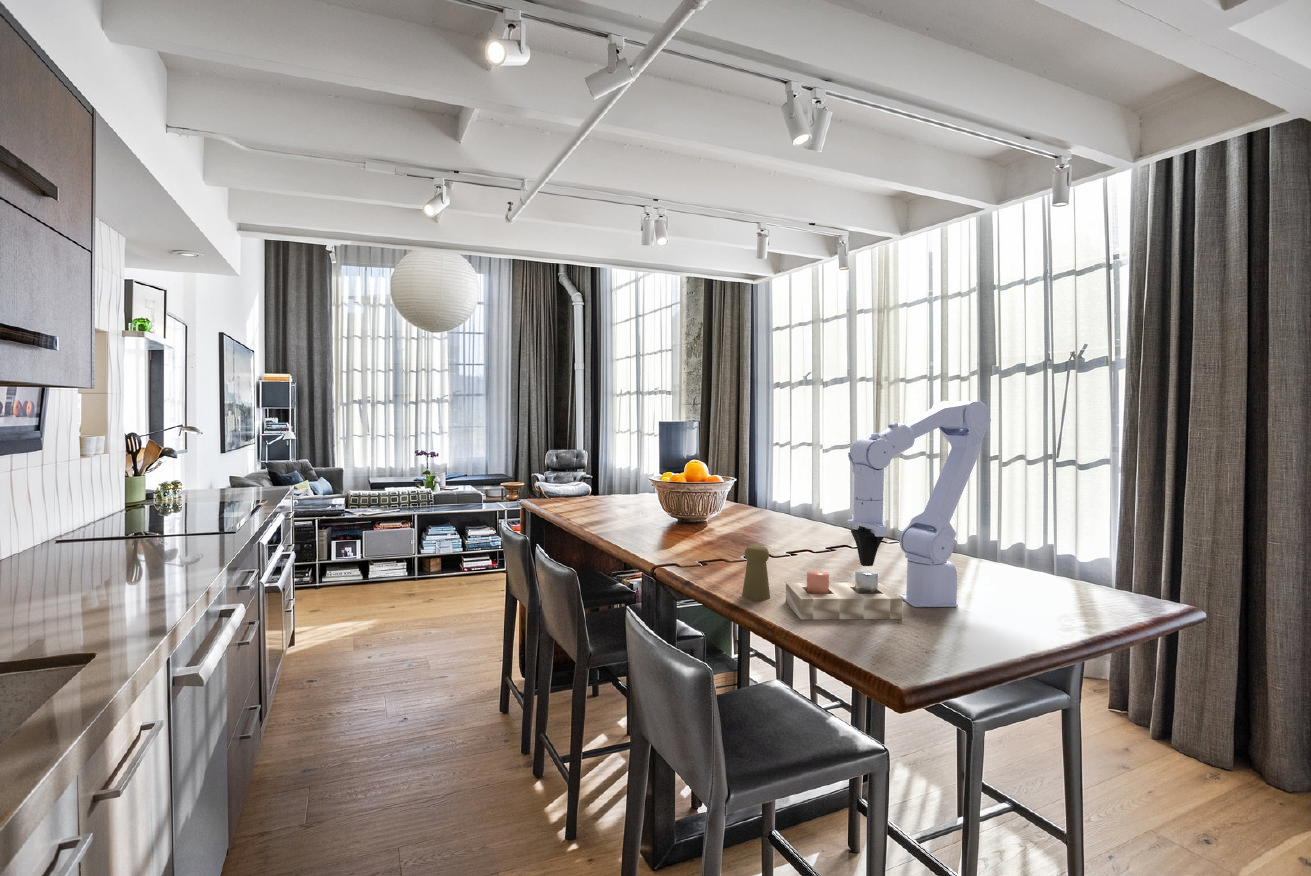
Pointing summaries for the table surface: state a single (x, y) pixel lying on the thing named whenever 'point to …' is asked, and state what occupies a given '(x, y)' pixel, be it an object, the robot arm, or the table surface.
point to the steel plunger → (866, 582)
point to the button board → (843, 603)
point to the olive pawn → (756, 573)
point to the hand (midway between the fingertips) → (866, 565)
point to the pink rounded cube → (817, 582)
